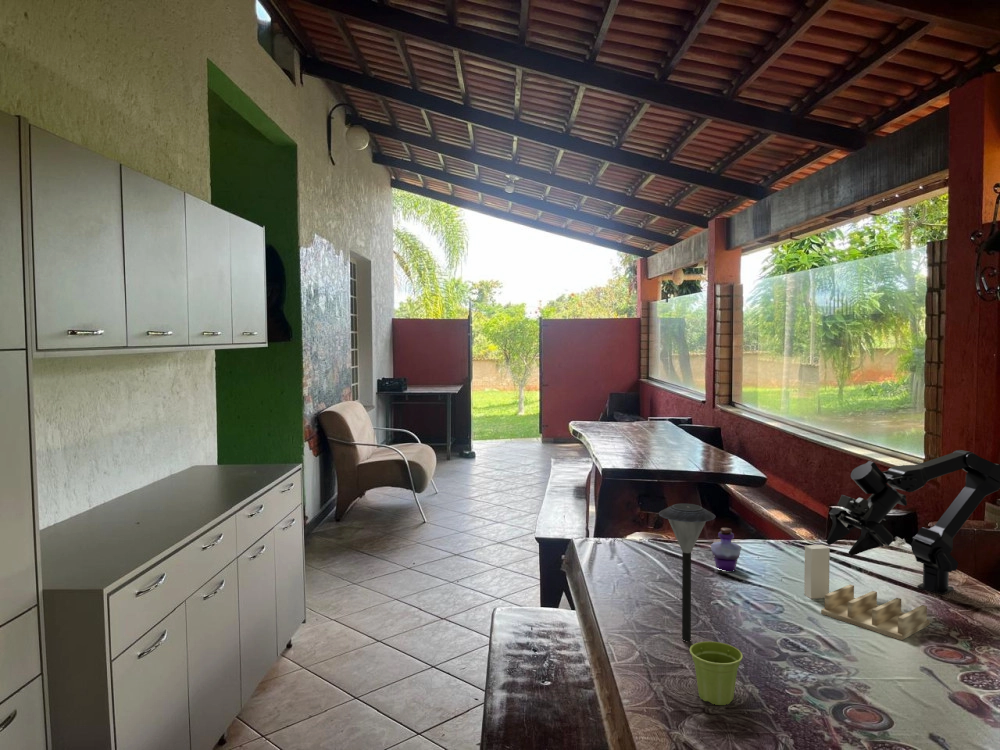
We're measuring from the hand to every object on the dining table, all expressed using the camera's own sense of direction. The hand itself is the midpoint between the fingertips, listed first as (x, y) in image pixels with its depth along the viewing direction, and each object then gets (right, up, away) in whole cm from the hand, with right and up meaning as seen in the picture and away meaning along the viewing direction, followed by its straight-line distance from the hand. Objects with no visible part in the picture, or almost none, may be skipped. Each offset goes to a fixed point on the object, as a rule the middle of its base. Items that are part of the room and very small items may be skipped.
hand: (838, 549), depth 175 cm
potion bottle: (-22, -12, +21) cm, 33 cm away
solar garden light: (-47, -14, -25) cm, 55 cm away
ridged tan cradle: (+1, -13, -15) cm, 20 cm away
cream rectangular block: (-6, -12, 0) cm, 13 cm away
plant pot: (-48, -15, -50) cm, 71 cm away
